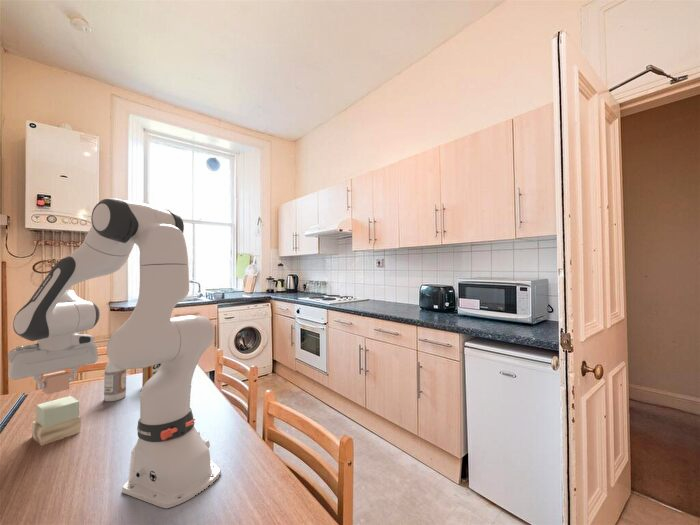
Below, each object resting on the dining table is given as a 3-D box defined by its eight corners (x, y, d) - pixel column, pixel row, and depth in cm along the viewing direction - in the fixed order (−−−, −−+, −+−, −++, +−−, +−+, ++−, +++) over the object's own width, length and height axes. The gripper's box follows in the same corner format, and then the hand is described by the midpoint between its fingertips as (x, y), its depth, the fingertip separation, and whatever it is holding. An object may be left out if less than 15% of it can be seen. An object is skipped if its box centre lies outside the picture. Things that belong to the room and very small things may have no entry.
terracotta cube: (69, 389, 96) (69, 373, 96) (47, 394, 92) (48, 377, 92) (63, 385, 99) (63, 370, 99) (42, 391, 94) (42, 374, 94)
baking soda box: (148, 390, 130) (148, 353, 130) (142, 386, 134) (143, 350, 134) (171, 383, 137) (172, 348, 138) (165, 380, 141) (166, 346, 142)
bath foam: (120, 401, 119) (121, 350, 120) (100, 402, 118) (101, 351, 118) (129, 394, 126) (130, 345, 126) (110, 395, 124) (111, 346, 125)
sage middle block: (78, 417, 96) (79, 401, 97) (44, 428, 90) (44, 411, 90) (69, 410, 101) (70, 395, 101) (36, 421, 94) (36, 404, 94)
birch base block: (80, 432, 96) (80, 417, 96) (41, 446, 89) (41, 429, 89) (70, 425, 101) (70, 410, 101) (31, 438, 93) (32, 421, 94)
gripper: (11, 349, 85) (9, 399, 85) (100, 336, 102) (99, 377, 102) (5, 346, 88) (4, 394, 88) (92, 333, 106) (91, 373, 105)
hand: (56, 384), depth 95 cm, fingers closed on terracotta cube, 5 cm apart
